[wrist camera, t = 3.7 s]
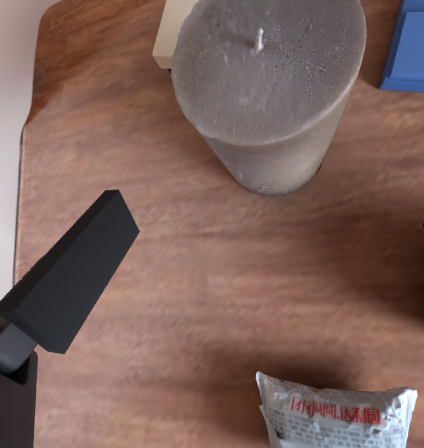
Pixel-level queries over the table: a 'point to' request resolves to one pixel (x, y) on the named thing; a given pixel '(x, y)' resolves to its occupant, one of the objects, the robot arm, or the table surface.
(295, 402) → the packaged food
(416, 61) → the blue dish cloth
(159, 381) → the table surface
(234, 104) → the pillar candle
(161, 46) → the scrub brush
